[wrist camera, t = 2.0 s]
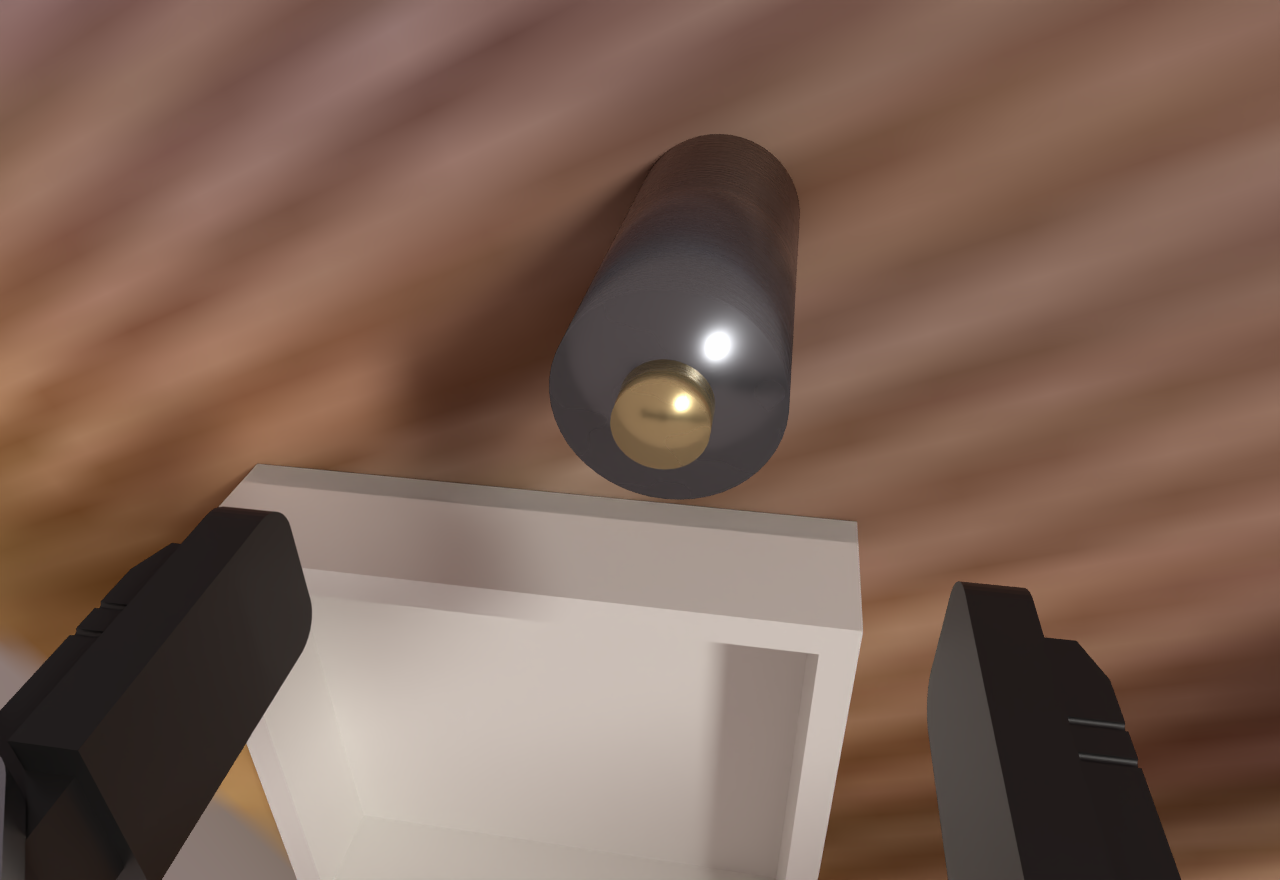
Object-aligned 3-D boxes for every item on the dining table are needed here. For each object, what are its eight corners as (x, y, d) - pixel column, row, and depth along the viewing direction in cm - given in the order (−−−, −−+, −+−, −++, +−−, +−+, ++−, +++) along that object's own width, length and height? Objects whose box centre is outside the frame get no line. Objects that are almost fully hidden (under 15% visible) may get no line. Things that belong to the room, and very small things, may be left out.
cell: (807, 137, 21) (799, 321, 13) (792, 296, 23) (776, 538, 15) (637, 131, 22) (528, 303, 14) (638, 286, 24) (544, 515, 16)
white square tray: (857, 521, 27) (863, 631, 23) (799, 872, 37) (797, 989, 33) (257, 463, 29) (176, 553, 26) (355, 805, 39) (307, 906, 36)
